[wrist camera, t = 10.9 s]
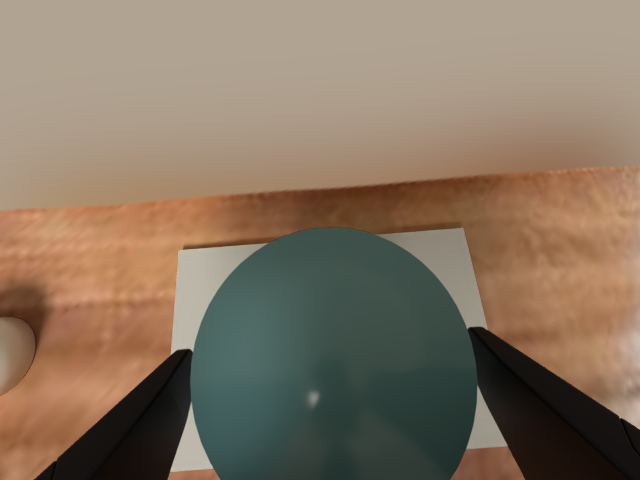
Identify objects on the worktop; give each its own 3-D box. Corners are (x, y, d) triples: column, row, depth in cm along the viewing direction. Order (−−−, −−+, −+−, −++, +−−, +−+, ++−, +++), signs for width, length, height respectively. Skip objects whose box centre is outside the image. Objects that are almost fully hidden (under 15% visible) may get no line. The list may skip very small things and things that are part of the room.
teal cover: (380, 408, 16) (483, 573, 6) (264, 390, 16) (152, 510, 6) (388, 289, 18) (473, 242, 8) (284, 275, 18) (226, 213, 8)
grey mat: (460, 229, 20) (463, 227, 19) (511, 442, 16) (515, 445, 15) (181, 251, 20) (179, 250, 19) (165, 468, 16) (161, 472, 15)
